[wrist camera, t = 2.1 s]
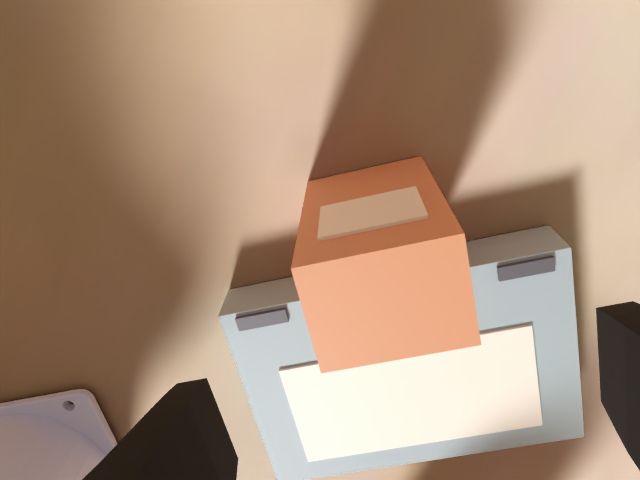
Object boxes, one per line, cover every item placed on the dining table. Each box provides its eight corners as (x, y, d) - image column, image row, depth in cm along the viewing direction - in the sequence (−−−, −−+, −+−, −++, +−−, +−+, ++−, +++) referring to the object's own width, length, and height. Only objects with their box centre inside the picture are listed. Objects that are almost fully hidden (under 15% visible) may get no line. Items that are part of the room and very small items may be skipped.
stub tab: (327, 257, 20) (321, 373, 14) (307, 178, 19) (289, 265, 12) (434, 235, 20) (481, 345, 13) (420, 153, 18) (464, 229, 12)
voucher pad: (283, 447, 24) (278, 487, 22) (229, 289, 21) (217, 318, 19) (564, 401, 22) (586, 440, 20) (549, 225, 19) (573, 249, 17)
